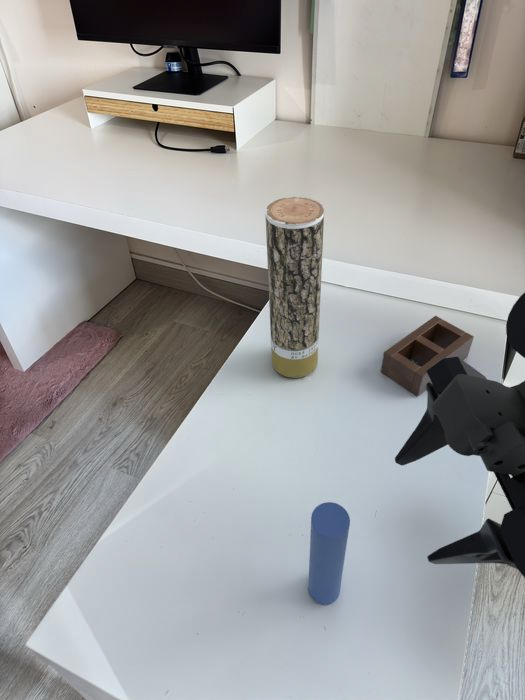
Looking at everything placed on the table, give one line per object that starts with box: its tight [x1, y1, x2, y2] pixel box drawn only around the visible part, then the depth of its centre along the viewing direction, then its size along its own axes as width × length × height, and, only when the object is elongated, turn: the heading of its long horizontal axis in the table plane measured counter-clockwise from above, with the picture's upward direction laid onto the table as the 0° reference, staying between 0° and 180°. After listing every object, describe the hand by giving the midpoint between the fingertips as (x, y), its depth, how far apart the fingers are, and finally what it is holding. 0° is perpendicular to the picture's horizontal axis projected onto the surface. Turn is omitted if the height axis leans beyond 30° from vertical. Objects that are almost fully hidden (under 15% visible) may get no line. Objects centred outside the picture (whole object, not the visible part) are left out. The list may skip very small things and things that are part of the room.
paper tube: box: [265, 196, 325, 379], centre depth 67 cm, size 7×7×25 cm
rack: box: [380, 315, 475, 397], centre depth 73 cm, size 7×12×4 cm, turn 130°
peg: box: [307, 501, 351, 606], centre depth 47 cm, size 3×3×14 cm
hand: (413, 507), depth 43 cm, fingers open, 9 cm apart
